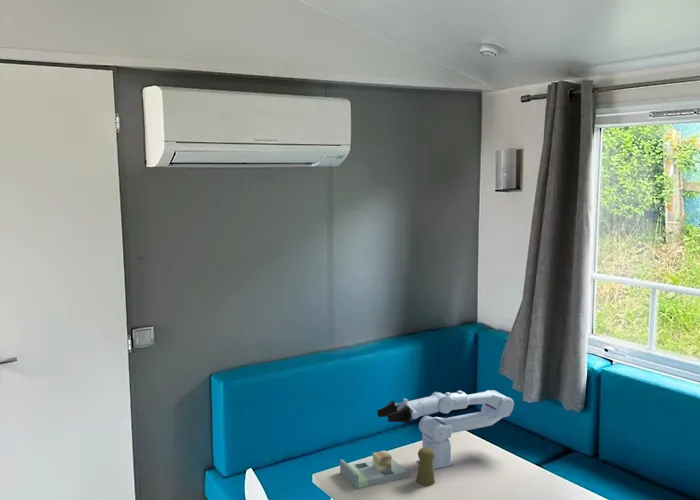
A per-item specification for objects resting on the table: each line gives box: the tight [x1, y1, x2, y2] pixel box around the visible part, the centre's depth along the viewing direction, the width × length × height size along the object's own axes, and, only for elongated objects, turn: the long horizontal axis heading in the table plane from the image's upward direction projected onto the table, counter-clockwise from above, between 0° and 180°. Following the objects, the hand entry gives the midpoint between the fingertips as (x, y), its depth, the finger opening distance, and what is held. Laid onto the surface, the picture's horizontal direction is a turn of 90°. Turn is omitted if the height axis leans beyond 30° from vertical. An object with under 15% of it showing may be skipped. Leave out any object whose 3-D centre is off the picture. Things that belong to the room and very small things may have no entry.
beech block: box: [372, 450, 392, 472], centre depth 207 cm, size 5×5×5 cm
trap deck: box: [339, 457, 408, 490], centre depth 206 cm, size 19×12×4 cm, turn 115°
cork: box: [415, 447, 436, 487], centre depth 201 cm, size 6×6×11 cm
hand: (383, 416), depth 204 cm, fingers open, 7 cm apart
